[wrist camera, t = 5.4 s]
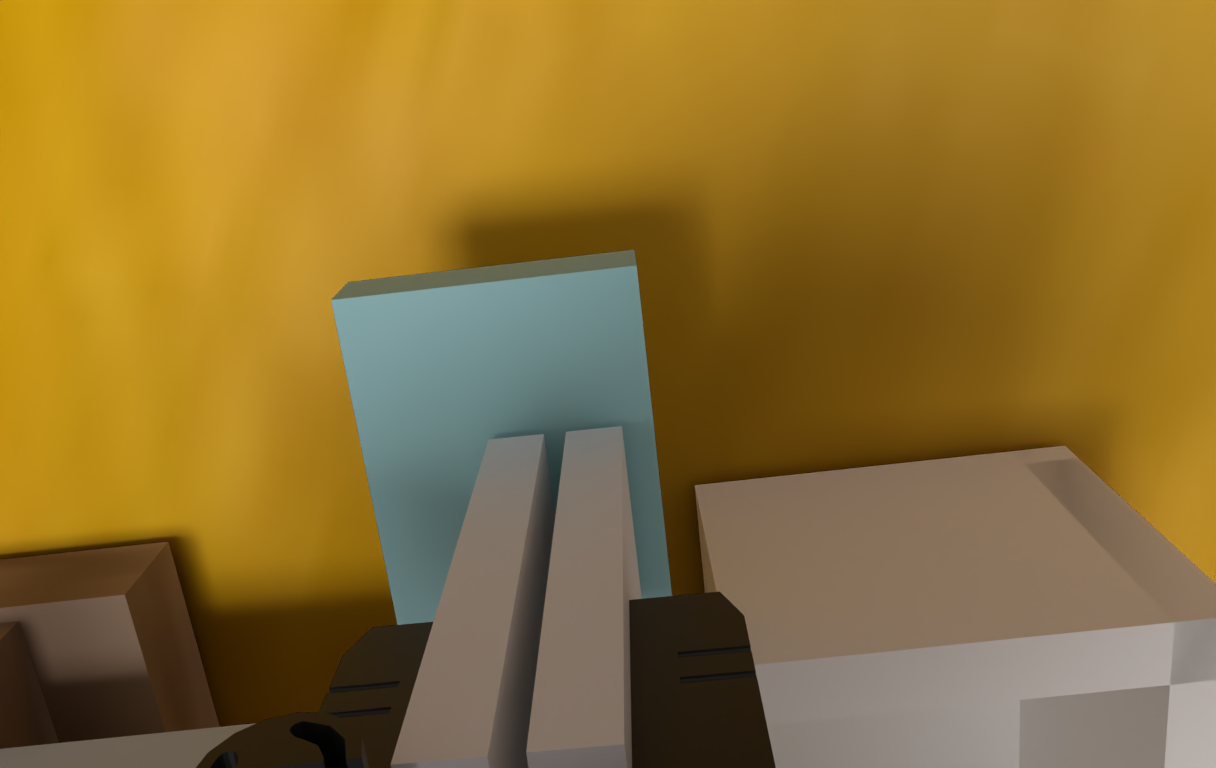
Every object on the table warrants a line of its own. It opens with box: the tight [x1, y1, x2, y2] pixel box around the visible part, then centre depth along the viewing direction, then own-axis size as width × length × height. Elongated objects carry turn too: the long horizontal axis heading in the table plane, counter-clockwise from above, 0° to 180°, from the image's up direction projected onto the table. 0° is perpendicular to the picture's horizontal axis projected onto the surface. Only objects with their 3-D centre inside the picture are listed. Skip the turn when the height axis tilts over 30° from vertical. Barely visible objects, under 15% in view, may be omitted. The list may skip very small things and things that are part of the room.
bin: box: [695, 446, 1216, 768], centre depth 19 cm, size 7×9×6 cm
